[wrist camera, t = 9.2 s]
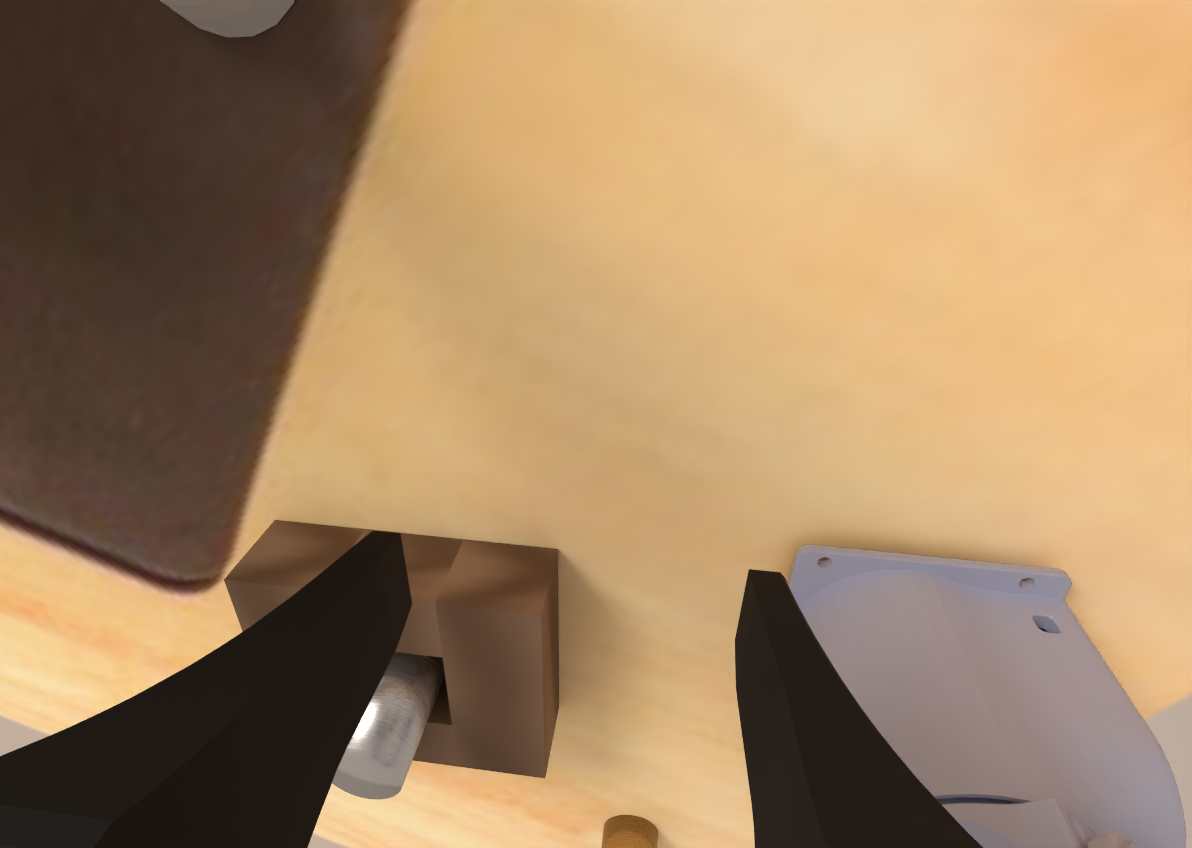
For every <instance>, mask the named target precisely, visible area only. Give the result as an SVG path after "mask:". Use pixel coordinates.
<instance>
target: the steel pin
mask: <svg viewBox="0 0 1192 848" xmlns="http://www.w3.org/2000/svg"><path fill="white" fill-rule="evenodd" d="M444 677H445V671H444V664H443V658H442V657H434V656H426V655H417V654H409V653H401V652H395V653H394V655H393V657H392V659H391V661H390V663H389V665H388V667H387V669H386V671H385V673H384V675H383V677H382V679H381V681H380V683H379V685H378V687H377V689H376V691H375V693H374V695H373V697H372V699H371V701H370V703H369V705H368V707H367V709H366V711H365V713H364V715H363V717H362V719H361V721H360V723H359V725H358V727H357V729H356V731H355V733H354V735H353V737H352V739H351V741H350V743H349V745H348V747H347V749H346V751H345V753H344V755H343V758H342V760H341V762H340V764H339V766H338V769H337V771H336V773H335V776H334V779H333V781H332V783H333V784H334V785H335V786H337V787H338V788H340V789H342V790H344V791H345V792H348V793H350V794H352V795H355V796H359V797H362V798H368V799H386V798H390V797H393V796H395V795H396V794H398V793H399V792H400V790H401V789H402V786H403V783H404V781H405V778H406V776H407V773H408V770H409V768H410V765H411V762H412V760H413V757H414V755H415V752H416V749H417V747H418V744H419V742H420V739H421V736H422V734H423V731H424V729H425V726H426V723H427V721H428V718H429V716H430V713H431V710H432V708H433V705H434V703H435V700H436V697H437V695H438V692H439V690H440V687H441V684H442V682H443V679H444Z"/></svg>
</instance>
